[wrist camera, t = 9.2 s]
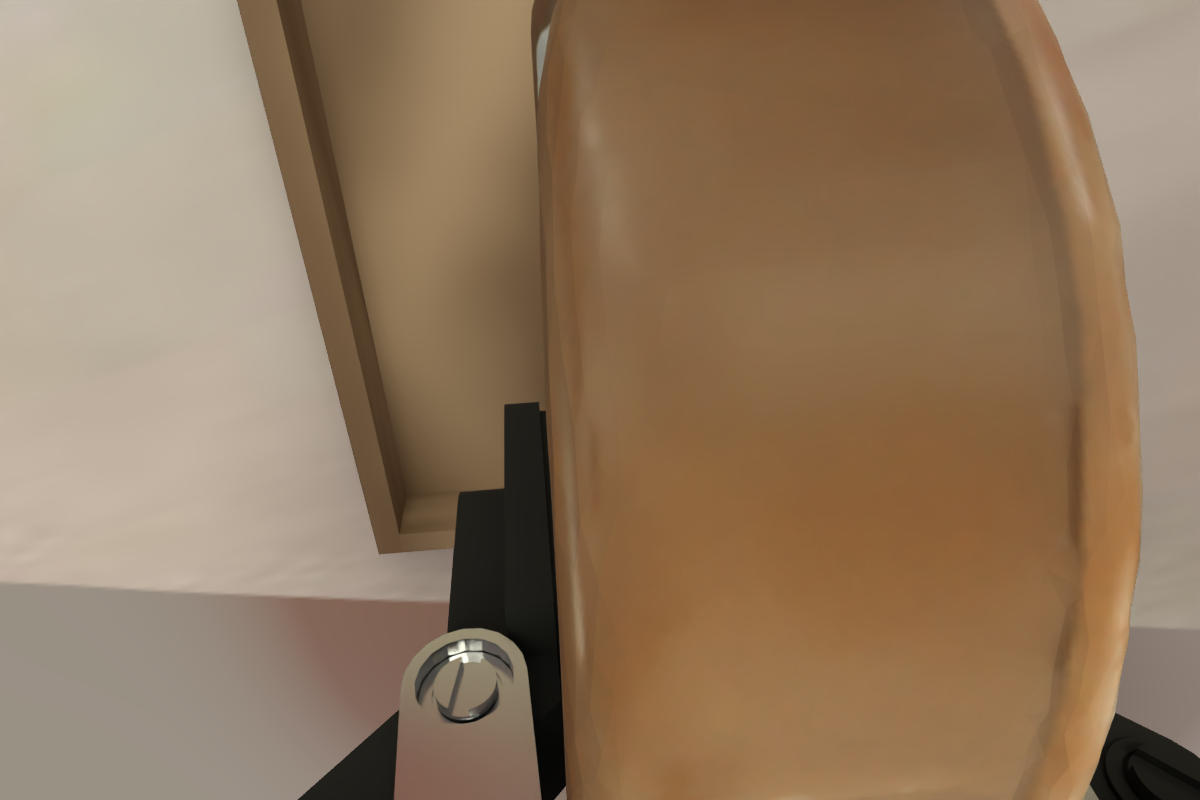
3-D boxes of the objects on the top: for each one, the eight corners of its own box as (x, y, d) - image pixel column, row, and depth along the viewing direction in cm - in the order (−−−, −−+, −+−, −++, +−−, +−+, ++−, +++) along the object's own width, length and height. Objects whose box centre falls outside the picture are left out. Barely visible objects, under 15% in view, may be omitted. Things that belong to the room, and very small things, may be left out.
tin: (680, 691, 17) (830, 1236, 10) (544, 711, 16) (600, 1291, 9) (745, -99, 8) (2007, -185, 2) (472, -97, 8) (505, -202, 1)
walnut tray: (886, -245, 17) (952, -273, 14) (777, 464, 28) (803, 518, 25) (221, -245, 15) (166, -275, 13) (390, 495, 27) (379, 554, 24)
